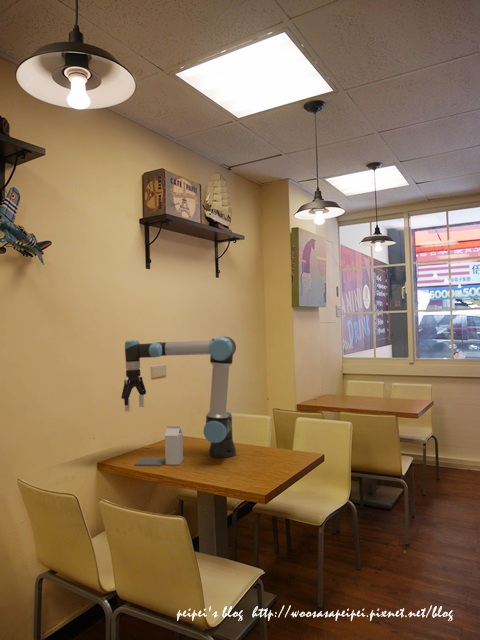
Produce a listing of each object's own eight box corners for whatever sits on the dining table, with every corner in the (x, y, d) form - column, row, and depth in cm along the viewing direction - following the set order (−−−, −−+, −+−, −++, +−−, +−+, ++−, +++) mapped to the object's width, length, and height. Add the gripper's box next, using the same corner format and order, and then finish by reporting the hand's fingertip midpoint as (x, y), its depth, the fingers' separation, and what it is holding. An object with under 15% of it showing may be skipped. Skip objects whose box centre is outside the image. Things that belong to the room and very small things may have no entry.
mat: (167, 459, 246) (167, 457, 246) (160, 466, 234) (160, 464, 234) (142, 459, 248) (142, 457, 248) (134, 465, 236) (134, 464, 236)
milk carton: (178, 465, 235) (177, 427, 235) (165, 464, 236) (164, 427, 237) (183, 461, 242) (182, 424, 242) (170, 460, 243) (169, 424, 244)
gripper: (139, 367, 260) (141, 404, 259) (113, 371, 236) (115, 413, 236) (151, 367, 257) (153, 405, 257) (125, 371, 234) (127, 413, 233)
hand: (134, 409), depth 246 cm, fingers open, 13 cm apart
